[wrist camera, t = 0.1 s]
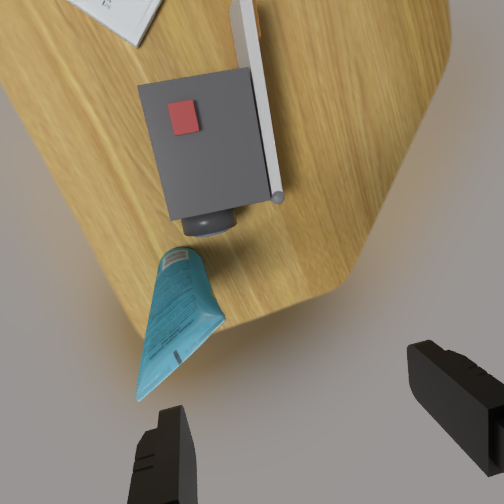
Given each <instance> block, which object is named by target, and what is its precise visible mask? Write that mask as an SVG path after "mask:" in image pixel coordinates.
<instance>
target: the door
mask: <svg viewBox="0 0 504 504" xmlns="http://www.w3.org/2000/svg"><path fill="white" fill-rule="evenodd" d="M229 17H230V22H231V28H232V34H233V39H234V45H235V51H236V56H237V62H238V68H245V67H248V69H249V74H250V80H251V86H252V92H253V98H254V104H255V110H256V116H257V122H258V127H259V133H260V139H261V145H262V151H263V157H264V163H265V169H266V175H267V180H268V186H269V192H270V198H271V200H270V201H272V202H273V203H275V204H280V203H282V202H283V201H284V198H285V197H284V194H283V191H282V184H281V178H280V172H279V166H278V159H277V153H276V147H275V141H274V134H273V128H272V122H271V116H270V109H269V103H268V97H267V91H266V84H265V78H264V72H263V66H262V59H261V53H260V47H259V41H258V40H259V39H260V37H261V31H260V25H259V18H258V12H257V5H256V0H232V3H231V6H230V10H229Z"/></svg>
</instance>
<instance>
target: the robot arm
mask: <svg viewBox="0 0 504 504" xmlns="http://www.w3.org/2000/svg"><path fill="white" fill-rule="evenodd" d="M407 360H408V373H409V383H410V388H411V390H412V393H413V395H414V396H415V398H416V399H417V401H418V402H419V403H420V404H421V405H422V406H423V407H424V408H425V409H426V410H427V412H428V413H429V414H430V415H431V416H432V417H433V418H434V419H435V420H436V421H437V422H438V423H439V424H440V426H441V427H442V428H443V429H444V430H445V431H446V432H447V433H448V434H449V435H450V436H451V437H452V438H453V439H454V441H455V442H456V443H457V444H458V445H459V446H460V447H461V448H462V449H463V450H464V451H465V452H466V453H467V455H468V456H469V457H470V458H471V459H472V460H473V461H474V462H475V463H476V464H477V465H478V466H479V468H480V469H481V470H482V471H483V472H484V473H485V474H486V475H487V476H488V477H490V476H493V475H496V474H500V473H504V384H503V383H501V382H500V381H499V380H497V379H496V378H494V377H493V376H492V375H490V374H488V373H487V372H486V371H485V370H484V369H482V368H481V367H478V366H477V364H475V363H474V362H473V361H471V360H469V359H468V358H467V357H466V356H464V355H461V354H459V353H456V352H454V351H451V350H446V351H445V350H443V349H442V348H441V347H439V346H438V345H437V344H435V343H434V342H433V341H431V340H426V341H422V342H418V343H414V344H411V345H409V346H408V347H407ZM127 504H198V501H197V466H196V454H195V448H194V443H193V440H192V436H191V432H190V429H189V425H188V422H187V418H186V414H185V411H184V408H183V406H182V405H179V406H175V407H172V408H168V409H164V410H161V411H159V418H158V427H157V428H156V429H152V430H149V431H146V432H145V433H144V435H143V436H142V438H141V440H140V441H139V443H138V445H137V449H136V454H135V462H134V466H133V474H132V478H131V484H130V490H129V496H128V501H127Z"/></svg>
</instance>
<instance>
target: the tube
mask: <svg viewBox="0 0 504 504" xmlns="http://www.w3.org/2000/svg"><path fill="white" fill-rule="evenodd" d="M224 322H225V315H224V314H223V312H222V311H221V309H220V307H219V305H218V302H217V300H216V298H215V296H214V293H213V291H212V288H211V285H210V283H209V280H208V277H207V274H206V270H205V266H204V263H203V260H202V258H201V257H200V256H199V254H198V253H197V252H195V251H194V250H192V249H189V248H186V247H178V248H174V249H172V250H170V251H168V252H167V253H166V254H165V255H164V256H163V257H162V259H161V261H160V263H159V267H158V272H157V278H156V283H155V288H154V293H153V299H152V304H151V309H150V314H149V320H148V325H147V330H146V335H145V341H144V347H143V352H142V358H141V364H140V370H139V376H138V384H137V391H136V399H137V402H139V401H141V400H142V399H143V398H144V397H145V396H146V395H147V394H149V393H150V392H151V391H152V390H153V389H155V388H156V387H157V386H158V385H159V384H160V383H161V382H162V381H163V380H164V379H165V378H167V377H168V376H169V375H170V374H171V373H172V372H173V371H174V370H175V369H176V368H178V367H179V365H181V364H182V363H183V362H184V361H185V360H186V359H187V358H188V357H189V356H190V355H191V354H193V352H194V351H195V350H197V349H198V348H199V347H200V346H201V345H202V343H203V342H204V341H205V340H206V339H207V338H208V337H209V336H210V335H211V334H212V333H213V332H214V331H215V330H216V329H217V328H218V327H219V326H220V325H221V324H222V323H224Z"/></svg>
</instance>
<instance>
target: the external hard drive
mask: <svg viewBox="0 0 504 504" xmlns="http://www.w3.org/2000/svg"><path fill="white" fill-rule="evenodd" d="M67 1H68V2H70V3H71V4H72V5H74V6H75V7H77V8H78V9H80V10H81V11H83V12H84V13H86V14H87V15H88V16H90V17H91V18H93V19H94V20H96V21H97V22H99V23H100V24H102V25H103V26H105V27H106V28H107V29H109V30H110V31H112V32H113V33H115V34H116V35H118V36H119V37H121V38H122V39H124V40H125V41H127V42H128V43H129V44H131V45H132V46H134V47H135V48H138V47H139V45H140V43H141V41H142V39H143V37H144V35H145V34H146V32H147V30H148V28H149V26H150V24H151V22H152V20H153V19H154V17H155V13H156V11H157V9H158V8H159V6H160V4H161V2H162V1H163V0H67Z"/></svg>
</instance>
